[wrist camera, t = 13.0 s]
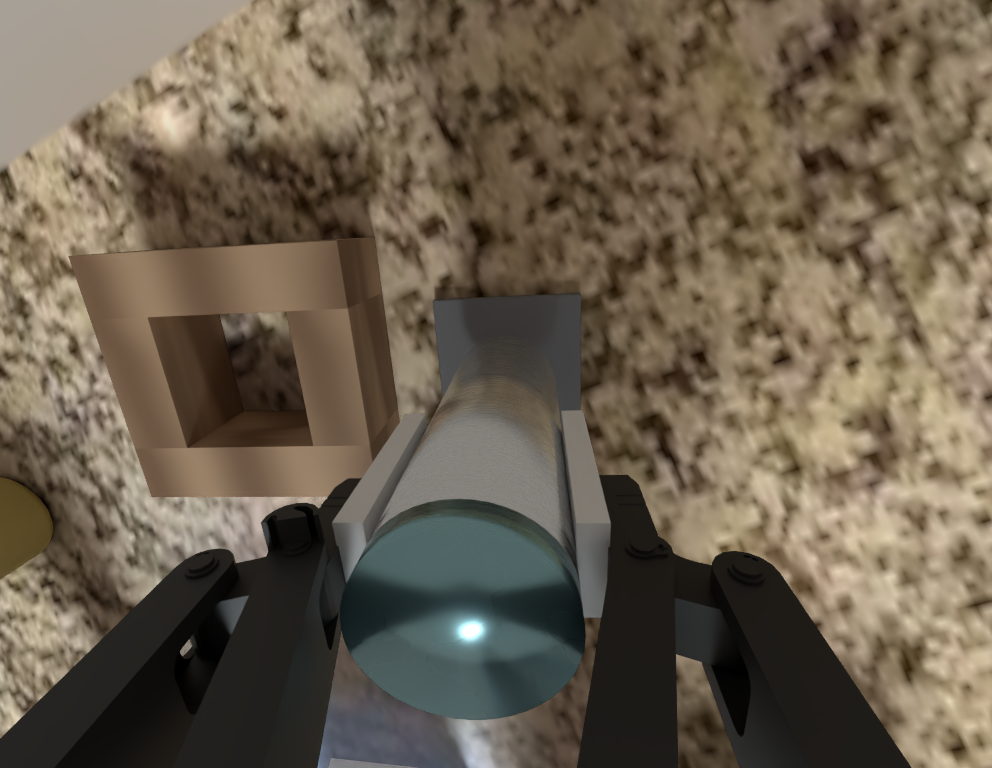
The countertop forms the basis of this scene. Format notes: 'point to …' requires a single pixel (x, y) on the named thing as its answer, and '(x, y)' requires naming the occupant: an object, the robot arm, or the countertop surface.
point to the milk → (360, 764)
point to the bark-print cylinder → (21, 526)
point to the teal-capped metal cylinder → (475, 551)
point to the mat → (515, 334)
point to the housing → (208, 371)
